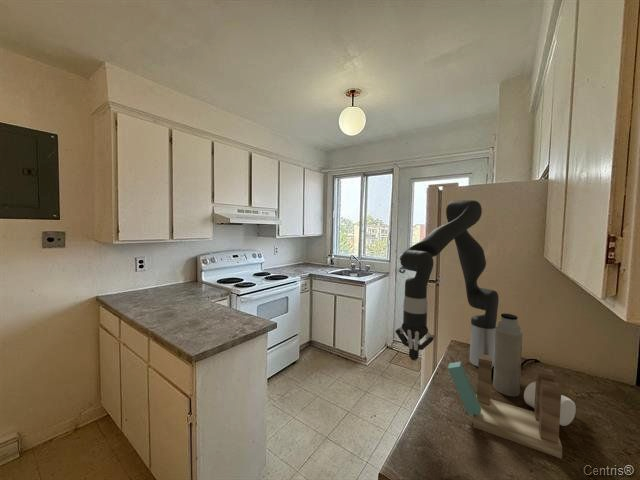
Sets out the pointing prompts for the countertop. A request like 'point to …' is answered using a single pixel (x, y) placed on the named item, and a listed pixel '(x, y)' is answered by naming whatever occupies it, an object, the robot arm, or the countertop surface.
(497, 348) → the thermos bottle
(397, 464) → the countertop surface
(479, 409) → the folding leg
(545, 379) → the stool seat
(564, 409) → the mug
